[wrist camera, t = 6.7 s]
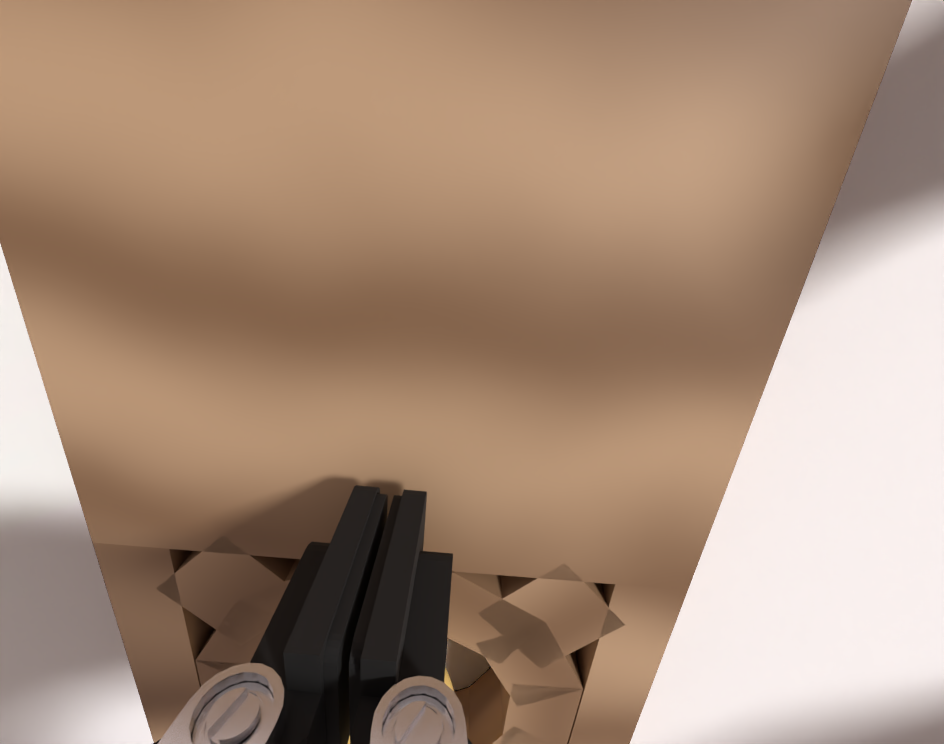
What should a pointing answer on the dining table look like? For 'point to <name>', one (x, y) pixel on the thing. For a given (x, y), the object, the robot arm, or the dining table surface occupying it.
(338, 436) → the carved wooden board
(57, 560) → the dining table surface
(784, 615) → the dining table surface
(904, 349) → the dining table surface
